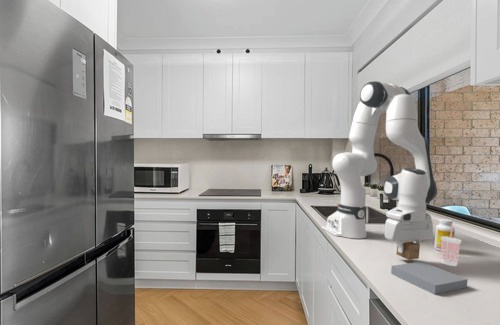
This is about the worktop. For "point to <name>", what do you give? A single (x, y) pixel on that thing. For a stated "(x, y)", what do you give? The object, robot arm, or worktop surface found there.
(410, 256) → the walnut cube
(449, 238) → the beverage cup
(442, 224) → the supplement bottle
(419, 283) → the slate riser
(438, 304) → the worktop surface
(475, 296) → the worktop surface
